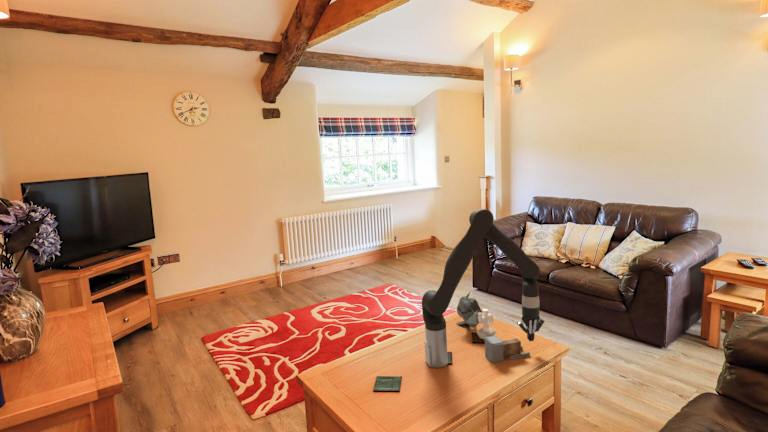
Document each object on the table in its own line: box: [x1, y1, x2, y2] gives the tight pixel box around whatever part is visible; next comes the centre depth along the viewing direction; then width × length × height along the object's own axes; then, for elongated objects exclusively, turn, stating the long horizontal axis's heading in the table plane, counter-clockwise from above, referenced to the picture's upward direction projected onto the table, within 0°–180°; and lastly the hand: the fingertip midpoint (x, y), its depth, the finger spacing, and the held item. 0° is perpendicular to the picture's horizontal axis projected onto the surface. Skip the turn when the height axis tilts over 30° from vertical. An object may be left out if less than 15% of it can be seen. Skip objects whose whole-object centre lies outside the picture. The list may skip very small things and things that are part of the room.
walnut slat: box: [501, 338, 522, 360], centre depth 193 cm, size 14×3×7 cm, turn 102°
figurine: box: [476, 307, 497, 341], centre depth 212 cm, size 7×9×15 cm
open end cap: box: [508, 345, 531, 361], centre depth 195 cm, size 10×7×2 cm
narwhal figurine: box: [456, 291, 482, 333], centre depth 223 cm, size 14×15×18 cm
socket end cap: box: [484, 335, 505, 364], centre depth 192 cm, size 6×7×9 cm
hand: (530, 340), depth 196 cm, fingers closed
